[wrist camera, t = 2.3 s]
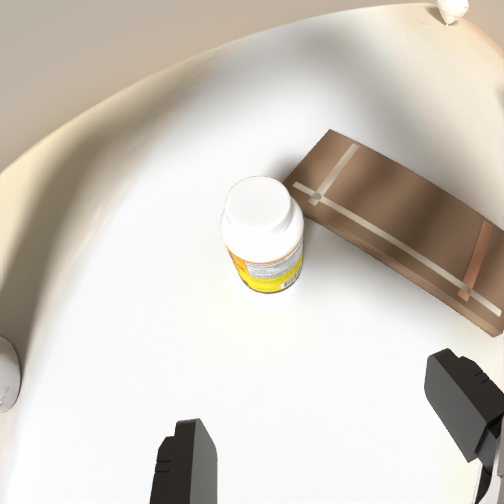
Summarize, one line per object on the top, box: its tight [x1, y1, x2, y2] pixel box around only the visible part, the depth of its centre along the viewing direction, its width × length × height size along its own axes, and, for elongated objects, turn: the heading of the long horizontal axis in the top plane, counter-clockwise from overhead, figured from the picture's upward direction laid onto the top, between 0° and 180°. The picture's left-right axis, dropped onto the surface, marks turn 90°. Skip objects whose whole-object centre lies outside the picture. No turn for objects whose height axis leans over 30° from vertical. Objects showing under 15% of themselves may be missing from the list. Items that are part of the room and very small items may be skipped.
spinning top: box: [436, 0, 469, 27], centre depth 41 cm, size 8×8×12 cm
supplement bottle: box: [220, 176, 304, 294], centre depth 24 cm, size 6×6×10 cm
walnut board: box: [282, 129, 504, 337], centre depth 27 cm, size 25×10×2 cm, turn 52°
